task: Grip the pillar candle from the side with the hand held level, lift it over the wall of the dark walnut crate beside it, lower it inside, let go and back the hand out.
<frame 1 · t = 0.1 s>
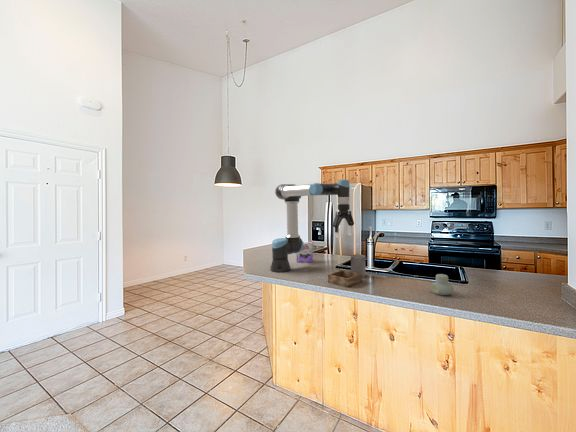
hand: (343, 236, 178), 28 cm above the table, tool pointing down, fingers open, 13 cm apart
candy box: (305, 261, 232), on the table
pillar candle: (358, 276, 185), on the table
walnut crate: (345, 282, 171), on the table
air freshener: (441, 294, 147), on the table
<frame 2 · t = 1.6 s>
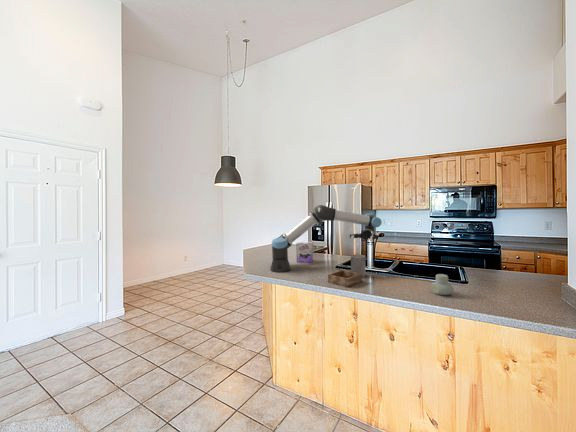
hand: (361, 238, 192), 24 cm above the table, tool horizontal, fingers open, 13 cm apart
nothing on the table moved.
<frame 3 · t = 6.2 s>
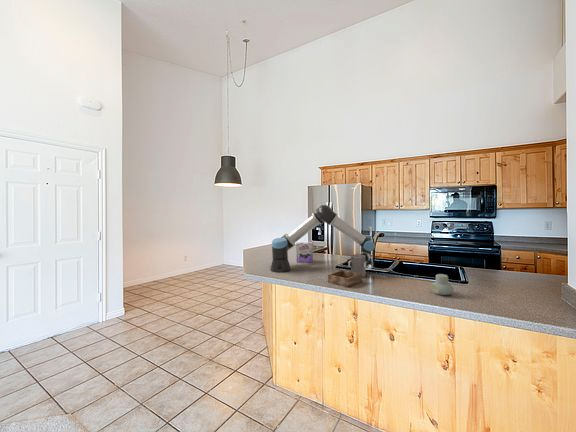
hand: (356, 264, 181), 9 cm above the table, tool horizontal, fingers closed on pillar candle, 9 cm apart
pillar candle: (358, 275, 185), on the table, touching gripper
everything else where it was.
when the fingers open (11 cm above the table, at t = 11.8 s): pillar candle drops 1 cm, resting on walnut crate.
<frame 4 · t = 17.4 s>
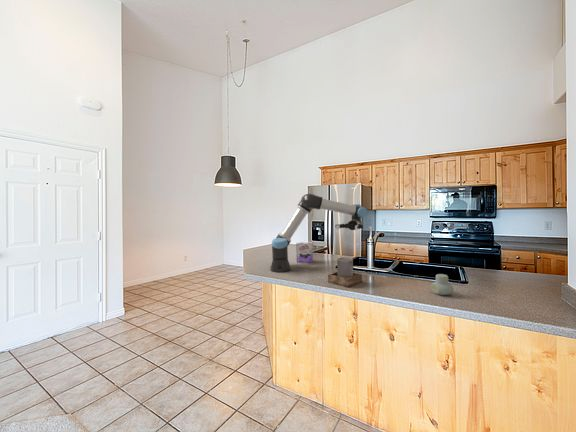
hand: (345, 227, 192), 32 cm above the table, tool horizontal, fingers open, 13 cm apart
pillar candle: (345, 280, 171), point 1 cm above the table, touching walnut crate
everything else where it was.
at the end: pillar candle 0.2 cm off-centre on the walnut crate, point 0.8 cm above the walnut crate's base; pillar candle tilted 0°; the gripper is holding nothing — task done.
